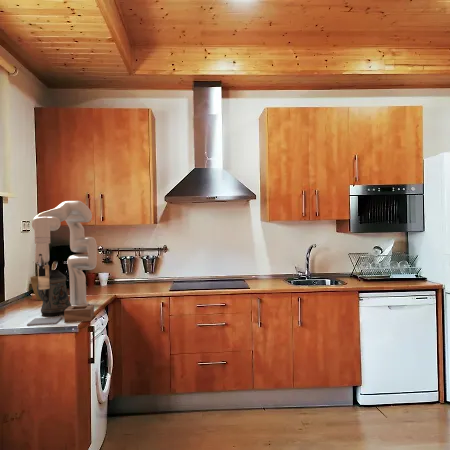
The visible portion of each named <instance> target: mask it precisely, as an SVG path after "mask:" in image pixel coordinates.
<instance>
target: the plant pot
mask: <svg viewBox="0 0 450 450" xmlns="http://www.w3.org/2000/svg"><path fill="white" fill-rule="evenodd" d="M30 283H31V286H32V287H31V288H32V290H33V293H34V295H35V298H36V299H37V301H43V300H42V299H41V298H40V297H39V295H38V292H37V285H38V275H35V276H34V275H33V276H30ZM43 292H44V289H43Z"/></svg>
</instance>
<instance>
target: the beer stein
mask: <svg viewBox="0 0 450 450" xmlns="http://www.w3.org/2000/svg"><path fill="white" fill-rule="evenodd" d="M66 281H67V276H66V275H65V274H63V273H62V272H61V271H60V270H59V269H49V282H50V288H49V289H44V292H43V289H42V290H40V289H38V285H37V292H38V295H39V297H40V298H41V299H42V300H41V301H42V306H41V308H40V313H41V317H44V318H49V317H62V316H64V310H66V309H67V308H68V307H69V306H72V305H71V303H70V296H69V293H68V290H67V288H68V287H67V285H66Z"/></svg>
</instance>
